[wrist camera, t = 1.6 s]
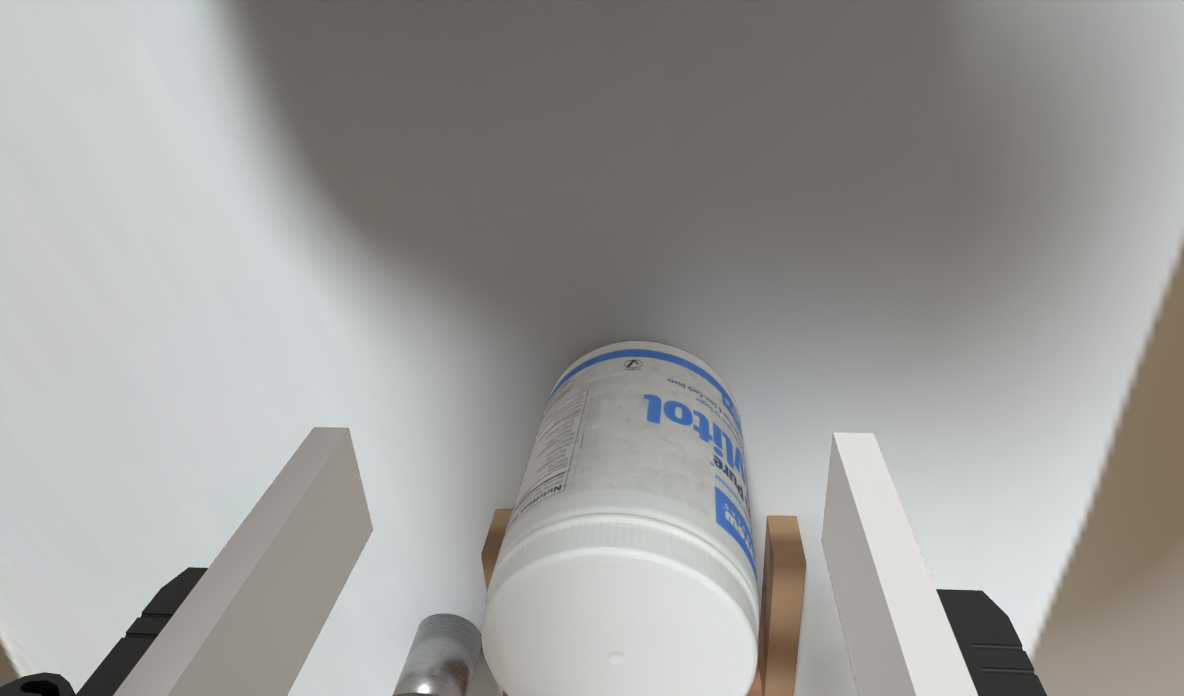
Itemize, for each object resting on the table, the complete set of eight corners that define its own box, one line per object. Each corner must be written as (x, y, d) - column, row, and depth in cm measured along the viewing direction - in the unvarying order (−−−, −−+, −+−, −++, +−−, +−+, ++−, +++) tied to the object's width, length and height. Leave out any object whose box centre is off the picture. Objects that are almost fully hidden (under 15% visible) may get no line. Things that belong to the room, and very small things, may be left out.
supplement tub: (777, 393, 37) (831, 636, 24) (672, 522, 41) (670, 788, 28) (601, 296, 35) (558, 500, 22) (512, 440, 40) (431, 681, 27)
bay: (495, 509, 42) (478, 561, 38) (796, 516, 40) (807, 571, 37) (517, 663, 47) (504, 721, 44) (782, 675, 46) (791, 736, 42)
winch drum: (383, 604, 46) (335, 712, 40) (486, 608, 45) (454, 719, 39) (398, 664, 49) (355, 776, 42) (496, 669, 48) (467, 783, 41)
